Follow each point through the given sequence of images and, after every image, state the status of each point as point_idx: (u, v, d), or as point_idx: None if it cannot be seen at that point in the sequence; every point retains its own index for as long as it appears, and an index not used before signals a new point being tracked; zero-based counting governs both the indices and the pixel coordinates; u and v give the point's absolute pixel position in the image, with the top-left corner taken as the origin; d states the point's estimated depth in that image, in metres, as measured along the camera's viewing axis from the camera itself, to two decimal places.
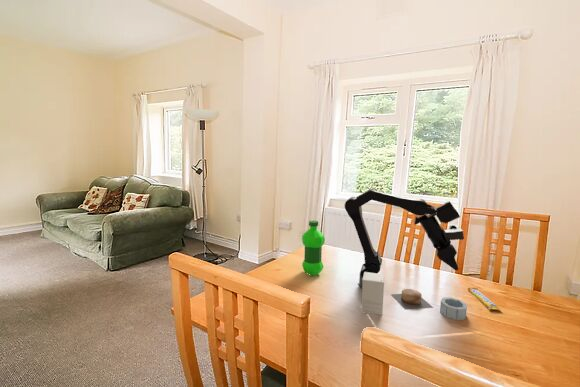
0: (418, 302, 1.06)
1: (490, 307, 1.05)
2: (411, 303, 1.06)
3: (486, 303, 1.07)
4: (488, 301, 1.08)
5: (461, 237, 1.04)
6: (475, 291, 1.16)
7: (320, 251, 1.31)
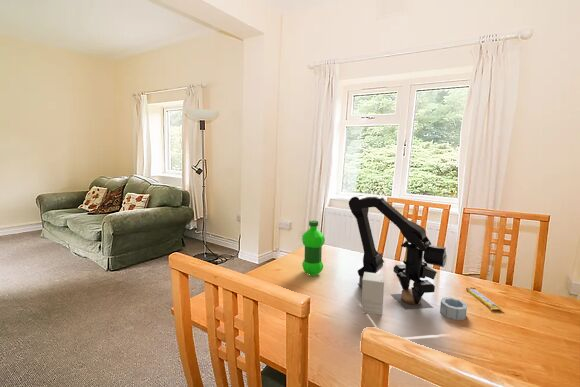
0: None
1: (491, 307, 1.05)
2: (411, 303, 1.06)
3: (487, 303, 1.07)
4: (488, 301, 1.08)
5: (434, 277, 1.07)
6: (474, 291, 1.16)
7: (320, 251, 1.31)
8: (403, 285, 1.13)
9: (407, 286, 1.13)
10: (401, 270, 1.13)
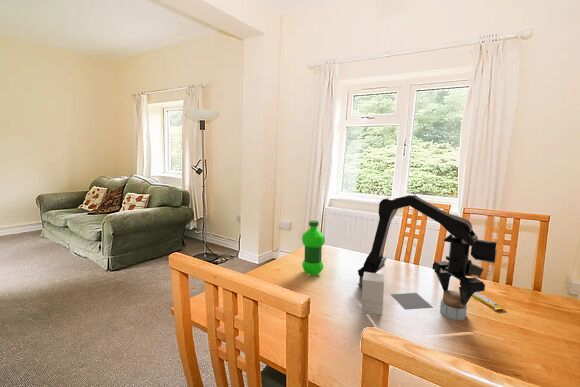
0: None
1: (495, 307, 1.05)
2: (456, 306, 0.97)
3: (489, 303, 1.07)
4: (489, 301, 1.08)
5: (480, 275, 0.98)
6: None
7: (320, 251, 1.31)
8: (443, 282, 1.04)
9: (447, 283, 1.05)
10: (442, 267, 1.04)
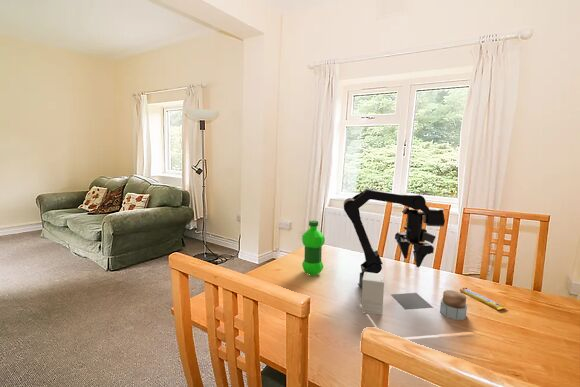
0: (463, 305, 0.97)
1: (497, 307, 1.05)
2: (456, 306, 0.97)
3: (490, 303, 1.07)
4: (490, 300, 1.09)
5: (433, 241, 1.14)
6: (469, 291, 1.16)
7: (320, 251, 1.31)
8: (403, 250, 1.20)
9: (406, 251, 1.20)
10: (402, 236, 1.20)
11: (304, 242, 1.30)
